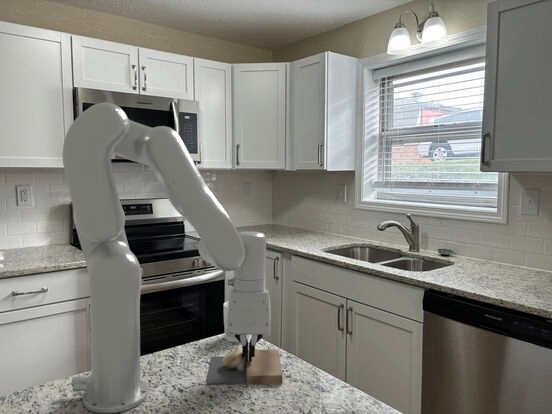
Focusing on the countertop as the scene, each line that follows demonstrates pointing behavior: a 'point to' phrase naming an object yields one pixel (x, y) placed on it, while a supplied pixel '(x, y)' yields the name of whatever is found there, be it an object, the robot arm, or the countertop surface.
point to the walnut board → (264, 368)
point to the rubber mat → (226, 373)
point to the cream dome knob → (233, 359)
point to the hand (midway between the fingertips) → (248, 359)
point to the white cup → (231, 339)
